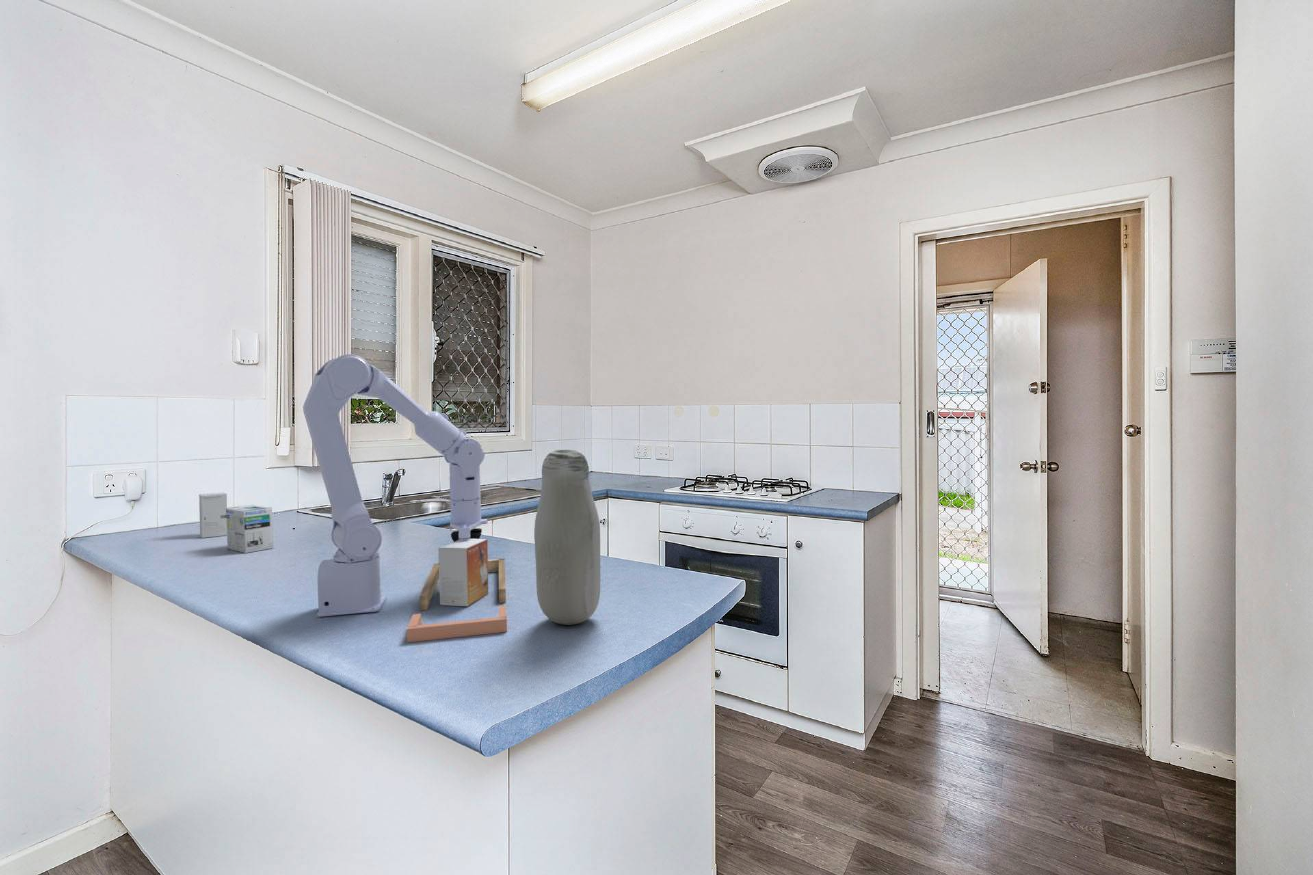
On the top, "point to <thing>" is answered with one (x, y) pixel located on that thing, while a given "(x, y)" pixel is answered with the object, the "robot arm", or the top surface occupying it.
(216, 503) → the skincare box
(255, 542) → the light bulb box
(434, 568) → the u-shaped frame
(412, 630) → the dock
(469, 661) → the top surface
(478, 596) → the small box
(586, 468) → the grey bottle
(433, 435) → the robot arm
